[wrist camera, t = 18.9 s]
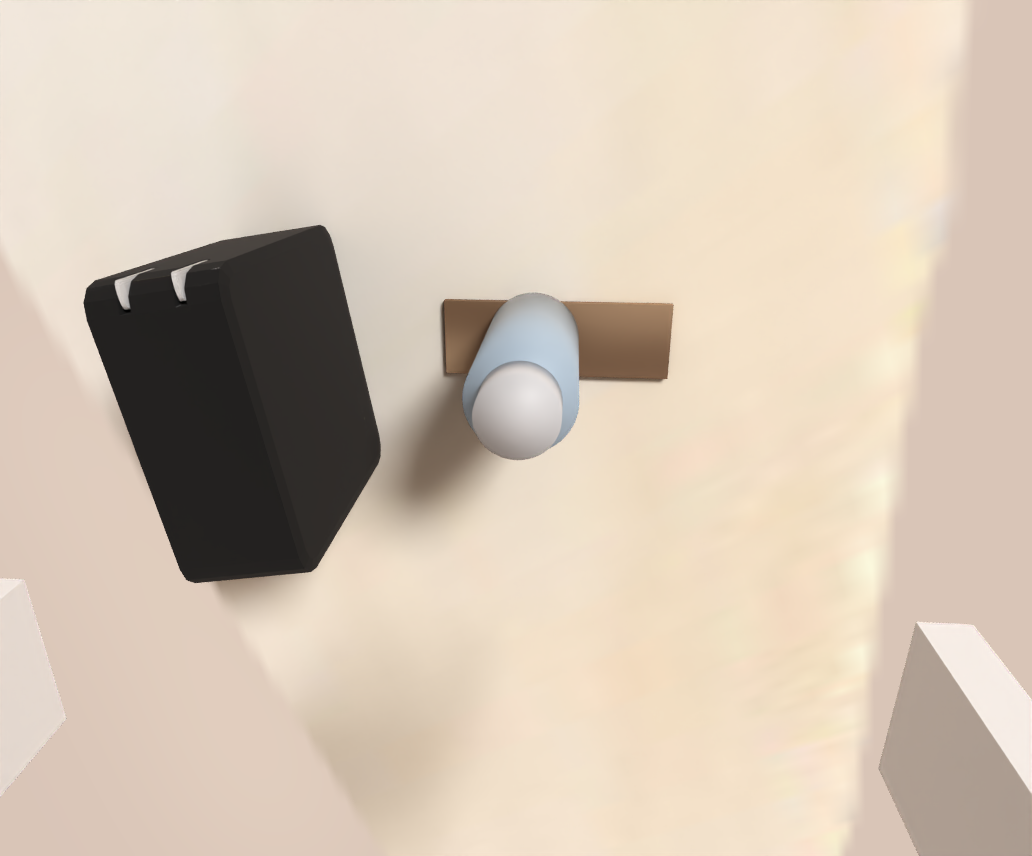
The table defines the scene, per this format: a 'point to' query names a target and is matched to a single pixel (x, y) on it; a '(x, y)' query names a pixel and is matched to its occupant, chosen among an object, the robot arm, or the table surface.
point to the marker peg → (525, 378)
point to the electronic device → (241, 398)
